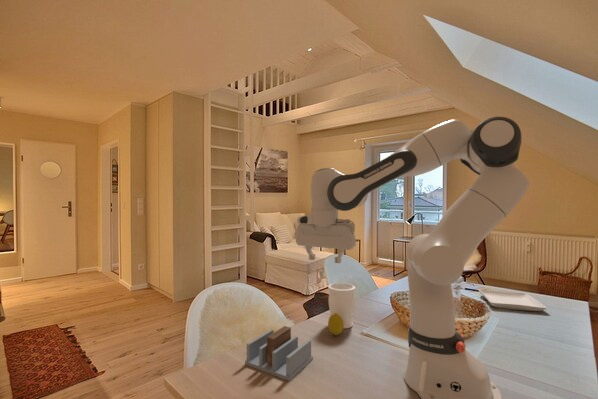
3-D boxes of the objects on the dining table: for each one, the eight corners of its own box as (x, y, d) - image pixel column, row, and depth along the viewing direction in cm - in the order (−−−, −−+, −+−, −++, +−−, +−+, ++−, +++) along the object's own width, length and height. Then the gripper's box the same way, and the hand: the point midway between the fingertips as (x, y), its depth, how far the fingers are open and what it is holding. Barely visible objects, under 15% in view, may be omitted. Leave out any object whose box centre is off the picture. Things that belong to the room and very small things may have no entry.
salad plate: (526, 299, 147) (526, 292, 147) (548, 315, 127) (548, 307, 127) (477, 295, 153) (477, 288, 153) (490, 310, 133) (490, 302, 133)
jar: (323, 324, 119) (322, 286, 119) (340, 317, 125) (340, 281, 125) (344, 332, 111) (343, 292, 111) (361, 325, 117) (360, 286, 118)
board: (290, 353, 94) (290, 327, 94) (273, 366, 87) (273, 339, 87) (284, 351, 95) (284, 326, 96) (267, 364, 88) (266, 337, 88)
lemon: (343, 339, 105) (342, 316, 105) (327, 338, 106) (327, 315, 106) (343, 332, 111) (343, 311, 111) (328, 331, 112) (328, 310, 112)
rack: (312, 359, 92) (312, 339, 92) (289, 381, 81) (289, 358, 81) (271, 346, 101) (271, 328, 101) (244, 364, 90) (244, 344, 90)
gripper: (358, 218, 94) (358, 262, 94) (303, 217, 105) (303, 256, 105) (350, 220, 89) (350, 266, 89) (293, 218, 100) (293, 259, 100)
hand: (324, 261), depth 97 cm, fingers open, 8 cm apart
